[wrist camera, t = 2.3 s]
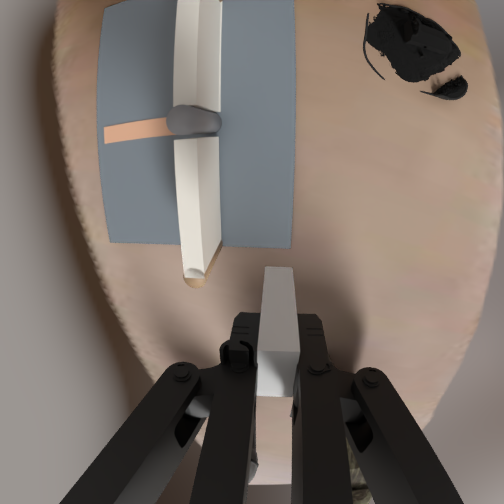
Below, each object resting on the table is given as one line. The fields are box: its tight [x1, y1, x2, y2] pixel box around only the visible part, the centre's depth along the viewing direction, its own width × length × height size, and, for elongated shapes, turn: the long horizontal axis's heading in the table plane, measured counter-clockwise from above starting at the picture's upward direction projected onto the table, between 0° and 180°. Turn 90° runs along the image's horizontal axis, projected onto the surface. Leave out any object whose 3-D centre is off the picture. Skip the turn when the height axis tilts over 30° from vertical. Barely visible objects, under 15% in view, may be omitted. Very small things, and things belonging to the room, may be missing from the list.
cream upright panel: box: [174, 137, 223, 288], centre depth 22 cm, size 11×2×7 cm, turn 0°
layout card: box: [97, 0, 296, 249], centre depth 22 cm, size 28×20×1 cm
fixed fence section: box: [166, 0, 223, 135], centre depth 16 cm, size 16×2×9 cm, turn 0°
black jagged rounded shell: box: [363, 3, 468, 100], centre depth 16 cm, size 12×10×5 cm
